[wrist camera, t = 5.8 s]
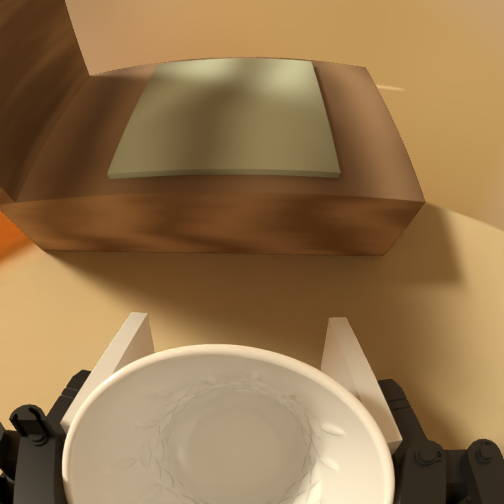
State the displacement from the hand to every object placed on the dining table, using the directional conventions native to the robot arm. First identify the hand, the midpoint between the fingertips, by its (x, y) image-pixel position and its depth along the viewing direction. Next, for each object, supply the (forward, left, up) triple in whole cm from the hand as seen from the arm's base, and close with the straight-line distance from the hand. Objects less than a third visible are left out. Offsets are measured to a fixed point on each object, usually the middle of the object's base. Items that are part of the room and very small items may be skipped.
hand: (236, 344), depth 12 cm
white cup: (0, +5, -4) cm, 6 cm away
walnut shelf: (+3, -13, -4) cm, 13 cm away
